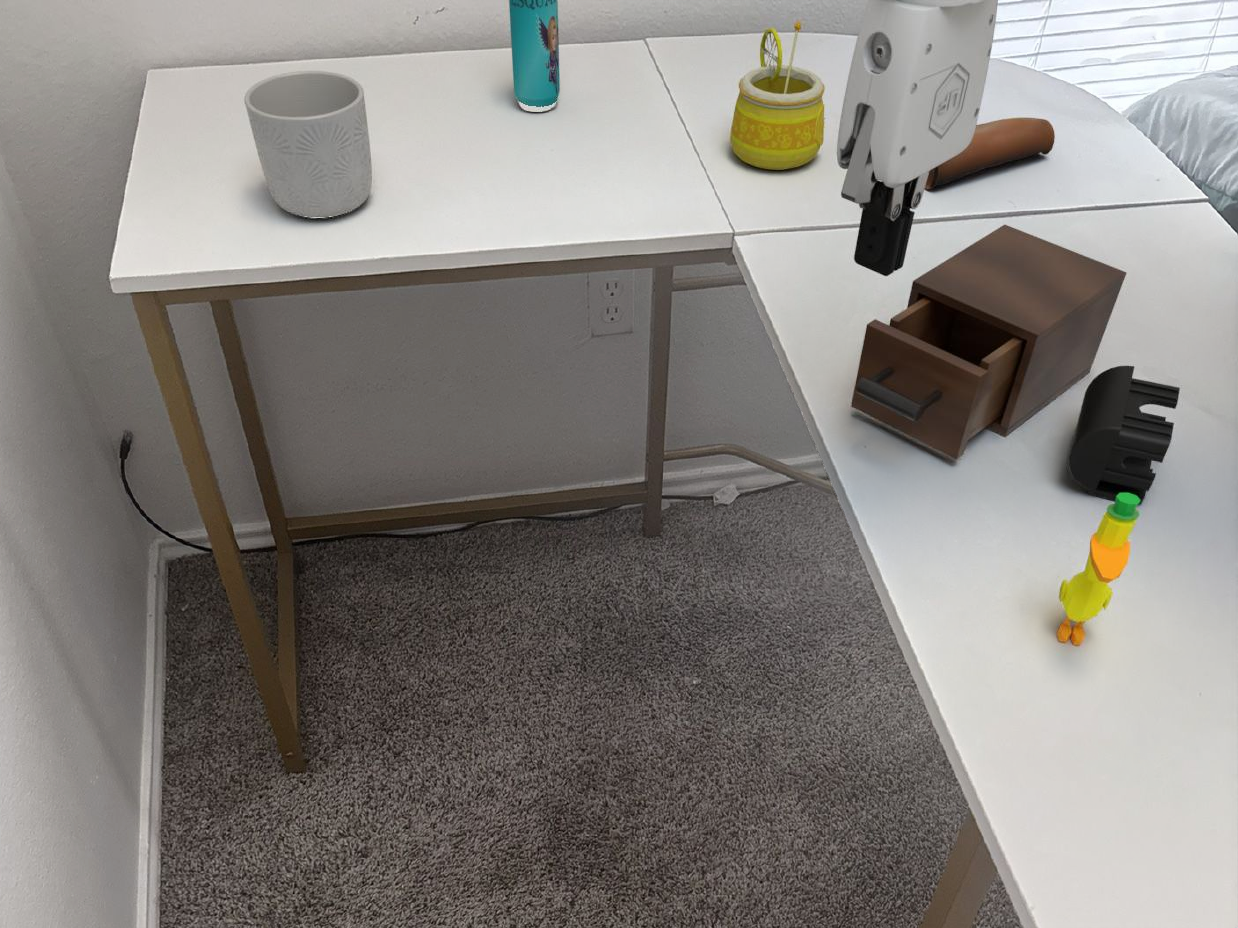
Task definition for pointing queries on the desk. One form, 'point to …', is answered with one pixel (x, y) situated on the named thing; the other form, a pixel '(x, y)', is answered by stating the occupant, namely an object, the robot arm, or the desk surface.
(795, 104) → the yellow patterned pot
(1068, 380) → the cabinet
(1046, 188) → the desk surface
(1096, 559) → the toy figure
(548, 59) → the beverage can
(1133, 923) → the desk surface
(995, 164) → the sunglasses case
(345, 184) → the planter
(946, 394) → the drawer
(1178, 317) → the desk surface
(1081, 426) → the end cap
